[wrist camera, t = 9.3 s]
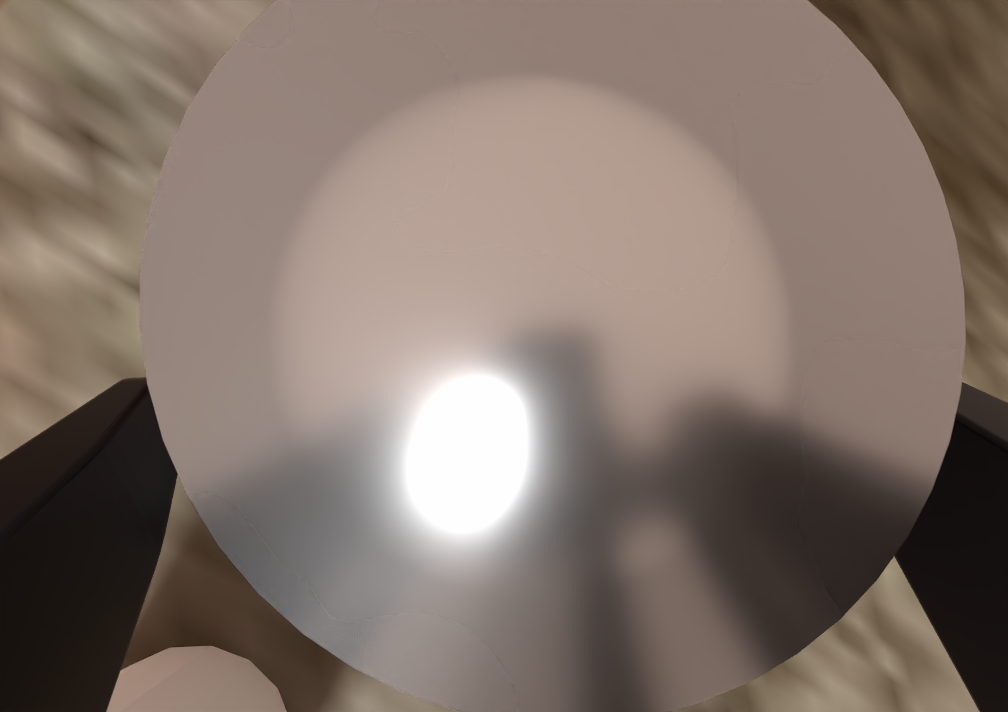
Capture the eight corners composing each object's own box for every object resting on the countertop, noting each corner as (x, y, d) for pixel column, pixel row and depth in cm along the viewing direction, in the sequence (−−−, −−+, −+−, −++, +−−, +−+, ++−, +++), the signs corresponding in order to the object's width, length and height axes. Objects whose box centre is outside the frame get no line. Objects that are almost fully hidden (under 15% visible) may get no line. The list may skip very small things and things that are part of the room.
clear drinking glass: (616, 413, 17) (1115, 364, 4) (458, 538, 16) (500, 933, 4) (498, 259, 17) (639, -223, 5) (337, 374, 17) (-43, 182, 4)
